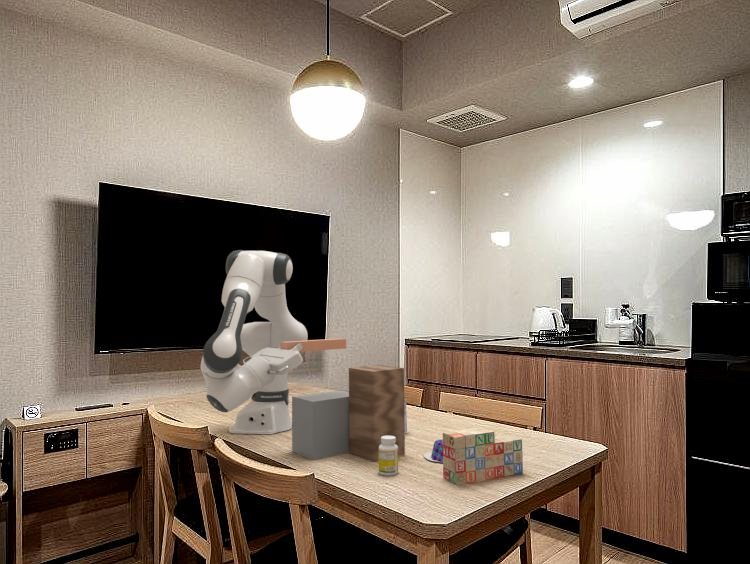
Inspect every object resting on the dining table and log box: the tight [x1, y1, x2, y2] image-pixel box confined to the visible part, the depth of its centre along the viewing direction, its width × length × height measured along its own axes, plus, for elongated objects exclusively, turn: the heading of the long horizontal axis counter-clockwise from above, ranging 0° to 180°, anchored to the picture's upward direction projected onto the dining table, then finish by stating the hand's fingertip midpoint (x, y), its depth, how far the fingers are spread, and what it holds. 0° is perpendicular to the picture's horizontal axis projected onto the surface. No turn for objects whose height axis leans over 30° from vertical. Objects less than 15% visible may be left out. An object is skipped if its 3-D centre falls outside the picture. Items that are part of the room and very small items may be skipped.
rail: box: [280, 338, 347, 353], centre depth 175 cm, size 22×3×3 cm, turn 128°
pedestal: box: [291, 390, 349, 461], centre depth 177 cm, size 18×12×17 cm, turn 128°
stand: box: [348, 364, 406, 463], centre depth 172 cm, size 12×12×26 cm
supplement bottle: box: [378, 436, 399, 477], centre depth 153 cm, size 5×5×10 cm
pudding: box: [424, 438, 443, 463], centre depth 167 cm, size 12×12×5 cm
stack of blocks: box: [442, 426, 524, 486], centre depth 150 cm, size 21×6×12 cm, turn 114°
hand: (296, 344), depth 171 cm, fingers closed on rail, 3 cm apart
